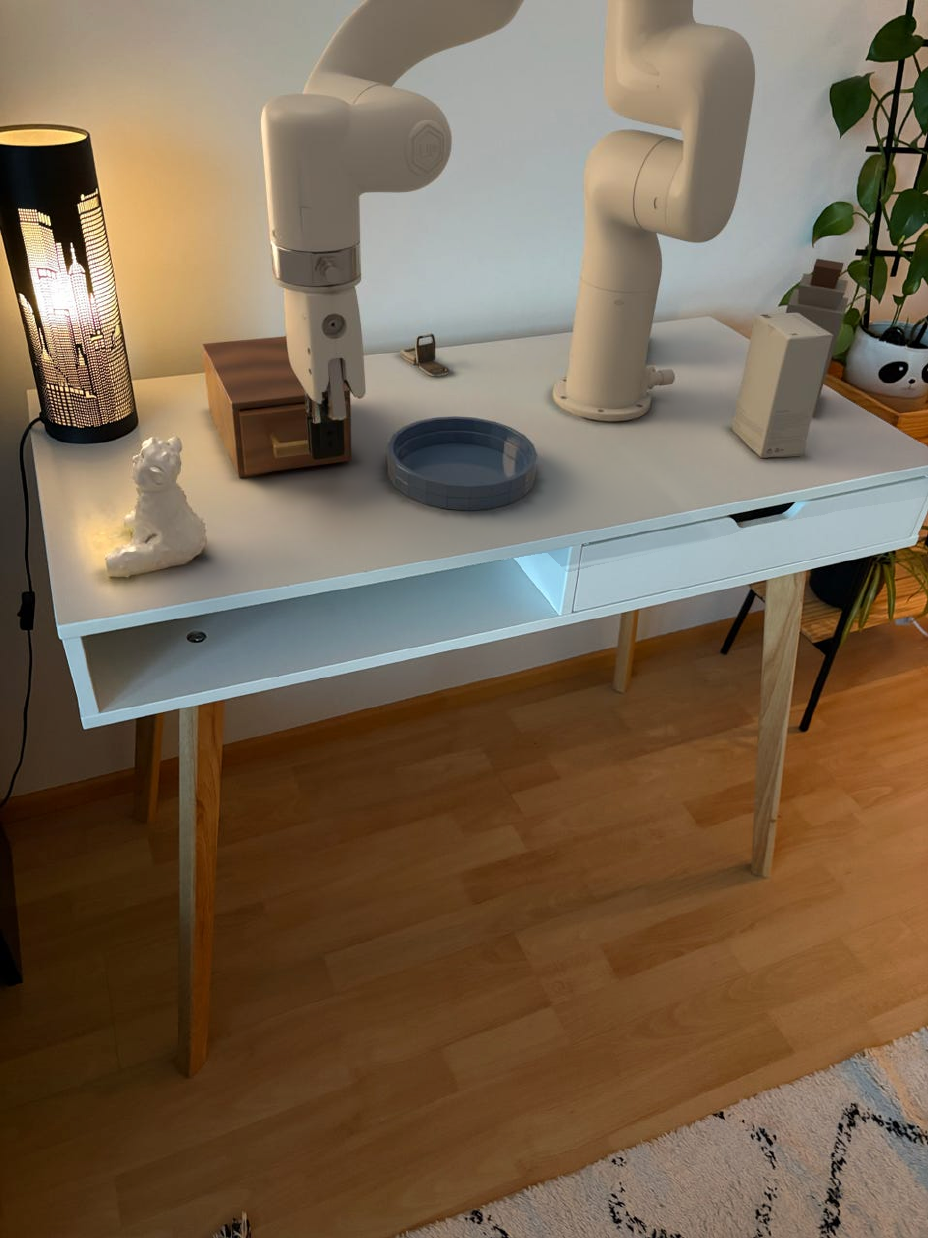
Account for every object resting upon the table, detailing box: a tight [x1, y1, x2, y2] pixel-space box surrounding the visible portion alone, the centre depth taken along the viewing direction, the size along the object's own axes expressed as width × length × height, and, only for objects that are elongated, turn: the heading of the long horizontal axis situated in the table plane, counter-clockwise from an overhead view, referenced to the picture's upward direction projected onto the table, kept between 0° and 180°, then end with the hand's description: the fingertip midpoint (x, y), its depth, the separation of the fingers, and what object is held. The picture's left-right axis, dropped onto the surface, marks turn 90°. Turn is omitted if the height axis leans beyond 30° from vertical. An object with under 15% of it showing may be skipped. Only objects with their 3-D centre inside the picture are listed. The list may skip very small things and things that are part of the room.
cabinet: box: [201, 335, 352, 478], centre depth 108 cm, size 17×13×9 cm
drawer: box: [238, 399, 350, 475], centre depth 105 cm, size 20×11×7 cm, turn 23°
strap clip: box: [400, 333, 450, 377], centre depth 128 cm, size 8×3×4 cm, turn 35°
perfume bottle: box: [785, 258, 850, 418], centre depth 121 cm, size 7×7×18 cm
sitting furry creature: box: [104, 436, 208, 579], centre depth 87 cm, size 10×9×12 cm
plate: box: [386, 416, 538, 511], centre depth 105 cm, size 16×16×3 cm
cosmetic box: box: [731, 312, 833, 459], centre depth 112 cm, size 8×6×15 cm
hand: (326, 453), depth 92 cm, fingers closed
